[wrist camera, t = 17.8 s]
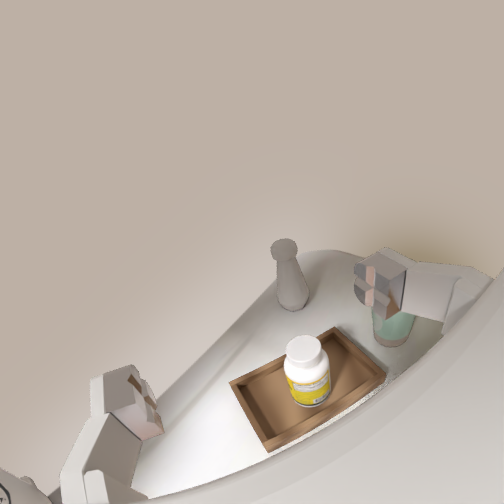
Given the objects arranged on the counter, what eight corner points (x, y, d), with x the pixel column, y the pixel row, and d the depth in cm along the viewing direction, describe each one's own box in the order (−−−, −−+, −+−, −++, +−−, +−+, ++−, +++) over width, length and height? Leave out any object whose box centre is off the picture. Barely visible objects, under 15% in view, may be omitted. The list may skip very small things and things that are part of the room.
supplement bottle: (296, 374, 38) (286, 328, 33) (333, 377, 36) (331, 330, 31) (286, 406, 34) (273, 364, 29) (327, 410, 32) (324, 368, 27)
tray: (268, 453, 29) (265, 448, 28) (232, 389, 39) (228, 382, 38) (384, 381, 33) (385, 373, 32) (334, 335, 43) (334, 326, 42)
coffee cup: (376, 309, 45) (377, 249, 40) (422, 321, 40) (432, 259, 34) (356, 345, 40) (357, 283, 35) (407, 360, 35) (420, 298, 29)
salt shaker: (301, 290, 55) (290, 230, 49) (316, 305, 50) (307, 242, 44) (274, 302, 54) (259, 242, 48) (287, 319, 49) (273, 256, 43)
